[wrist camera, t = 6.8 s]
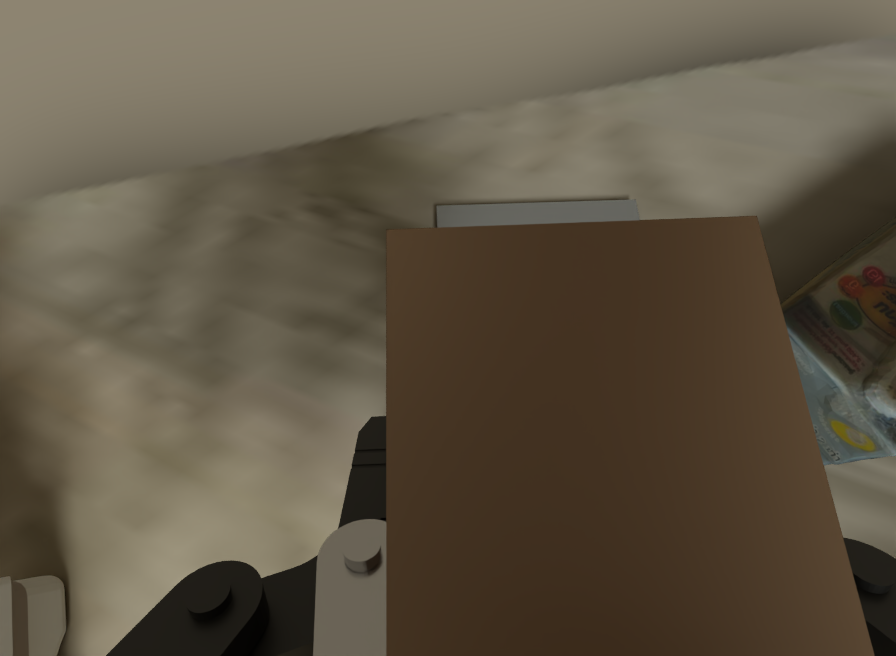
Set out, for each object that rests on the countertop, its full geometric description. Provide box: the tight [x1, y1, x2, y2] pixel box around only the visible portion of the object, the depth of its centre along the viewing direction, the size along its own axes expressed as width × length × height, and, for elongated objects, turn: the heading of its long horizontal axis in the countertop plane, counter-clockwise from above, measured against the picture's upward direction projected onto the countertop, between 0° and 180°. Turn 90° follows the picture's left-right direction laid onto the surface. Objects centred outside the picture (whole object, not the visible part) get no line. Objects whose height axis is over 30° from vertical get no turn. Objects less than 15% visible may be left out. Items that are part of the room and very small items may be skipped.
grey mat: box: [437, 199, 639, 228], centre depth 30 cm, size 12×9×1 cm
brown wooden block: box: [386, 216, 875, 656], centre depth 9 cm, size 3×5×13 cm, turn 2°
